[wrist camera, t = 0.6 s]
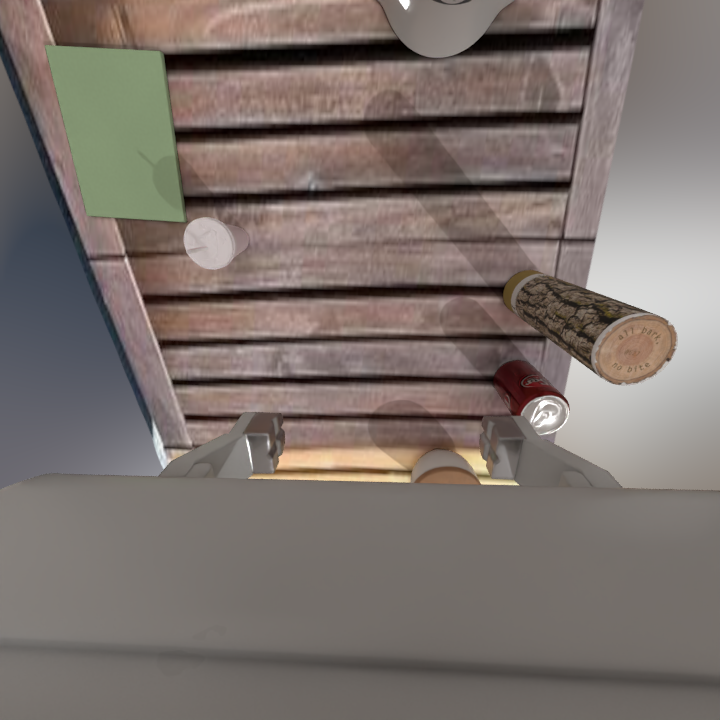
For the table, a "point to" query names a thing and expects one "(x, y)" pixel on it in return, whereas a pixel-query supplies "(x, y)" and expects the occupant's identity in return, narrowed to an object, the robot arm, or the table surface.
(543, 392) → the soda can
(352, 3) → the table surface
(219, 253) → the smoothie
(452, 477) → the lidded bowl
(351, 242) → the table surface
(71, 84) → the pad
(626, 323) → the paper tube
